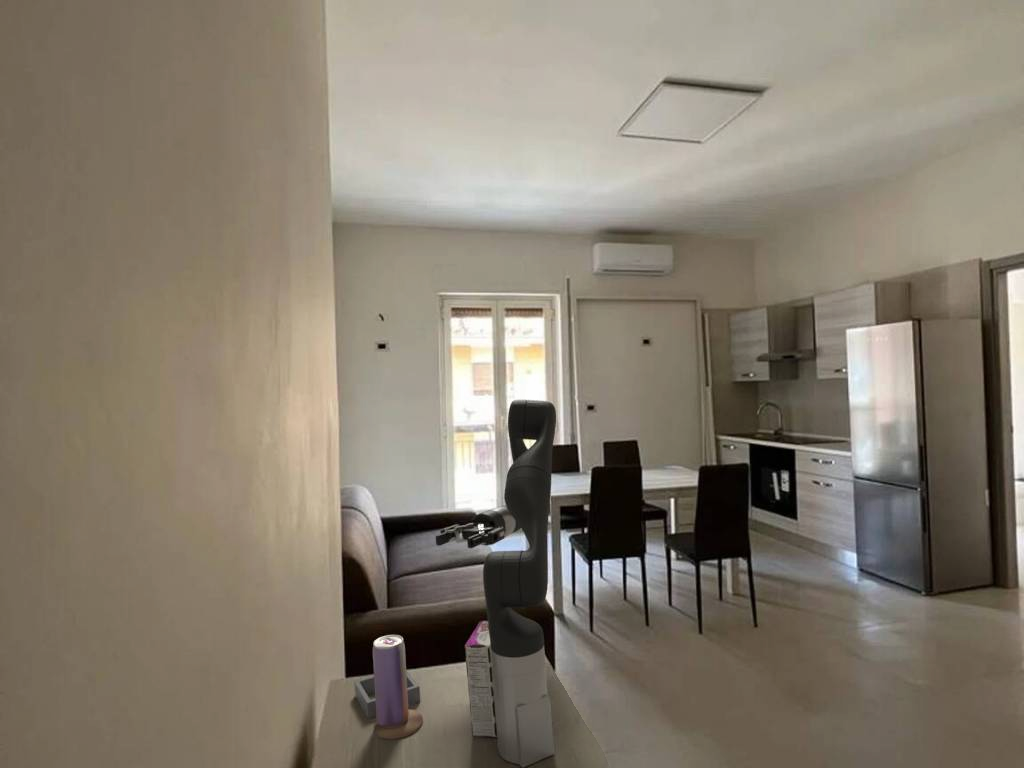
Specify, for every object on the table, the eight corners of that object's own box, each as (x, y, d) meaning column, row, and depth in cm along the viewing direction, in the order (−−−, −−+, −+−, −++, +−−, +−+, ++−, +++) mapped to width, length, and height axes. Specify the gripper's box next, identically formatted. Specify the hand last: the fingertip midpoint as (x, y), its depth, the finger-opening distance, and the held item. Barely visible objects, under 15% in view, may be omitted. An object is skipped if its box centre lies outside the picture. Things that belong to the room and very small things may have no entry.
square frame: (420, 701, 114) (419, 686, 114) (368, 718, 109) (367, 703, 109) (404, 680, 123) (403, 666, 123) (355, 695, 118) (354, 681, 118)
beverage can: (391, 733, 102) (386, 650, 102) (370, 724, 106) (365, 643, 106) (415, 717, 107) (410, 638, 107) (394, 708, 110) (390, 631, 111)
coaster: (429, 728, 104) (429, 725, 104) (381, 745, 99) (381, 742, 100) (413, 706, 112) (413, 704, 112) (368, 722, 107) (368, 719, 107)
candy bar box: (485, 703, 111) (479, 619, 111) (510, 704, 110) (504, 620, 110) (470, 737, 100) (463, 644, 100) (497, 739, 99) (490, 644, 100)
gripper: (468, 508, 138) (425, 523, 124) (517, 510, 131) (478, 526, 117) (470, 539, 138) (428, 557, 124) (520, 543, 131) (481, 562, 117)
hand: (452, 542), depth 121 cm, fingers open, 8 cm apart
